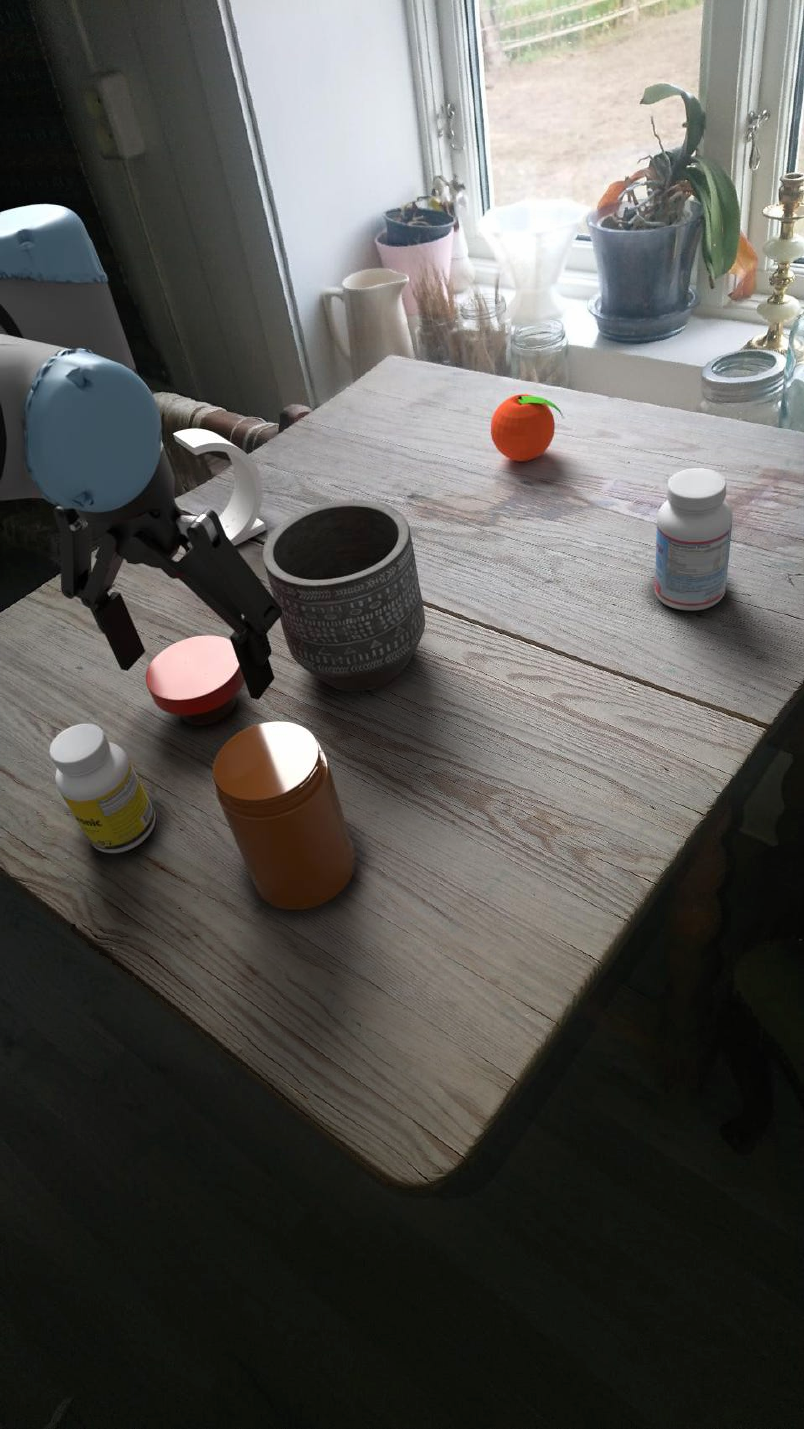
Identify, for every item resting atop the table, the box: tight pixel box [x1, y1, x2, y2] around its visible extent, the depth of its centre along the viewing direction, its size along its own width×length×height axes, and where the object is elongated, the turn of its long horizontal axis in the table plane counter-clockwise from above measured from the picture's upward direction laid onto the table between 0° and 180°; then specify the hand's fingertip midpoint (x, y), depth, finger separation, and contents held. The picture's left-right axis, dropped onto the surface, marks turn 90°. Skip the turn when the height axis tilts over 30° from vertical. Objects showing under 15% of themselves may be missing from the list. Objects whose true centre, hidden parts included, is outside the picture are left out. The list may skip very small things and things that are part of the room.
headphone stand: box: [172, 428, 267, 547], centre depth 102 cm, size 5×6×12 cm
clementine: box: [490, 393, 565, 462], centre depth 105 cm, size 8×7×7 cm
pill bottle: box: [654, 467, 733, 611], centre depth 83 cm, size 6×6×11 cm
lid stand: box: [179, 694, 238, 726], centre depth 84 cm, size 5×5×4 cm
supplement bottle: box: [49, 723, 157, 854], centre depth 73 cm, size 5×5×10 cm
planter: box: [261, 499, 426, 692], centre depth 83 cm, size 12×12×13 cm
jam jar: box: [212, 720, 356, 911], centre depth 67 cm, size 8×8×12 cm
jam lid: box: [145, 634, 245, 716], centre depth 83 cm, size 8×8×2 cm
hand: (196, 674), depth 83 cm, fingers open, 13 cm apart
